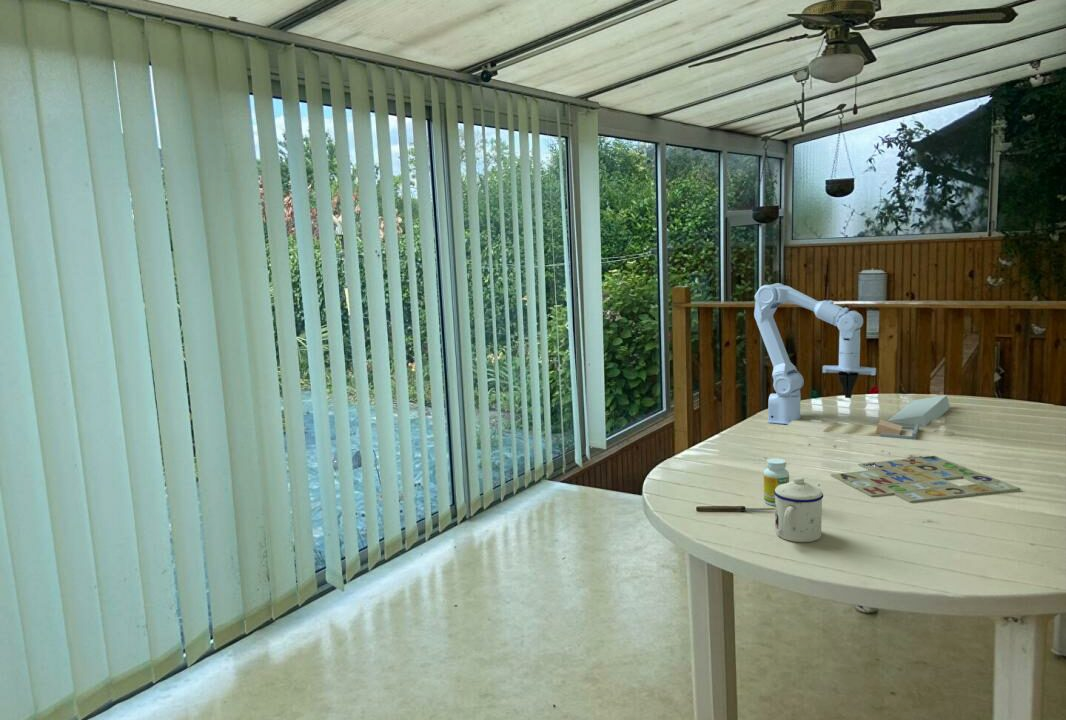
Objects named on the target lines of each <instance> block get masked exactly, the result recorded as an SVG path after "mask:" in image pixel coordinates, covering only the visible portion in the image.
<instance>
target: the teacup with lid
mask: <svg viewBox="0 0 1066 720" xmlns="http://www.w3.org/2000/svg"><path fill="white" fill-rule="evenodd" d="M774 494H775V506H774V507H775V508H774V510H775V511H774V513H775V514H774V515H775V516H774V521H775V522H774V524H775V525H774V531H775V532H774V533H775V534H776V535H777V536H778V537H779V538H781V539H783V540H786V541H789V542H795V543H810V542H811V543H812V542H815V541H818V540H820V539H821V536H822V515H823V513H822V512H823V509H822V507H823V498H824V493H823V491H822V489H821V488H819V487H818V486H815V485H812V484H810V483H809V482H806V481H805V479H804V477H802V476H795V477H793V479H792V480H791V481H789V482H788V483H786V484H781V485H779V486H777V487H776V489H775V491H774Z"/></svg>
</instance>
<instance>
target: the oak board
mask: <svg viewBox="0 0 1066 720" xmlns="http://www.w3.org/2000/svg"><path fill="white" fill-rule="evenodd" d="M877 426H878V425H871V424H870V425H868V424H857V423H856V424H855V423H843V422H829V424H828V425H827V426H826V427H825V429H823V432H825V433H835V434H846V435H847V434H848V435H858V436H869V437H879V436H880V433H877V432H876V429H877Z"/></svg>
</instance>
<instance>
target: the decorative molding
mask: <svg viewBox="0 0 1066 720" xmlns="http://www.w3.org/2000/svg"><path fill="white" fill-rule="evenodd" d="M950 408H951V405H950V402H949V399H948V395H946V394H945V395H937V396H932V397H927V398H919V399H914V400H912V401H911V402H910V403H909V404H907V405H906V406H904V408H902V409H901V410H900V411H898V412H897V413H895V414H894V415H893V416H891V418H889V419H888V420H886V421H887V422H891V423H894V424H906V425H912V426H913V425H914V426H915V425H916V424H919V426H923V427H924V426H926V425H928V424H929V423H930V422H931V421H938V420H939V419H940V418H941V417H942V416H943V415H944V414H945V413H946V412H948V410H949V409H950Z"/></svg>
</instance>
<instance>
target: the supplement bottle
mask: <svg viewBox="0 0 1066 720" xmlns="http://www.w3.org/2000/svg"><path fill="white" fill-rule="evenodd" d="M766 467H767V468H765V469H764V471H763V502H764V503H765V504H767V505H770V506H773V507H775V494H774V491H775V489H776V487H777V486H779V485H781V484H786V483H788V482H790V473H789V470H787V469H786V467H787V461H786V460H785V459H782V458H777V457H776V458H775V457H773V458H770V459H769V458H768V459H767V460H766Z"/></svg>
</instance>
